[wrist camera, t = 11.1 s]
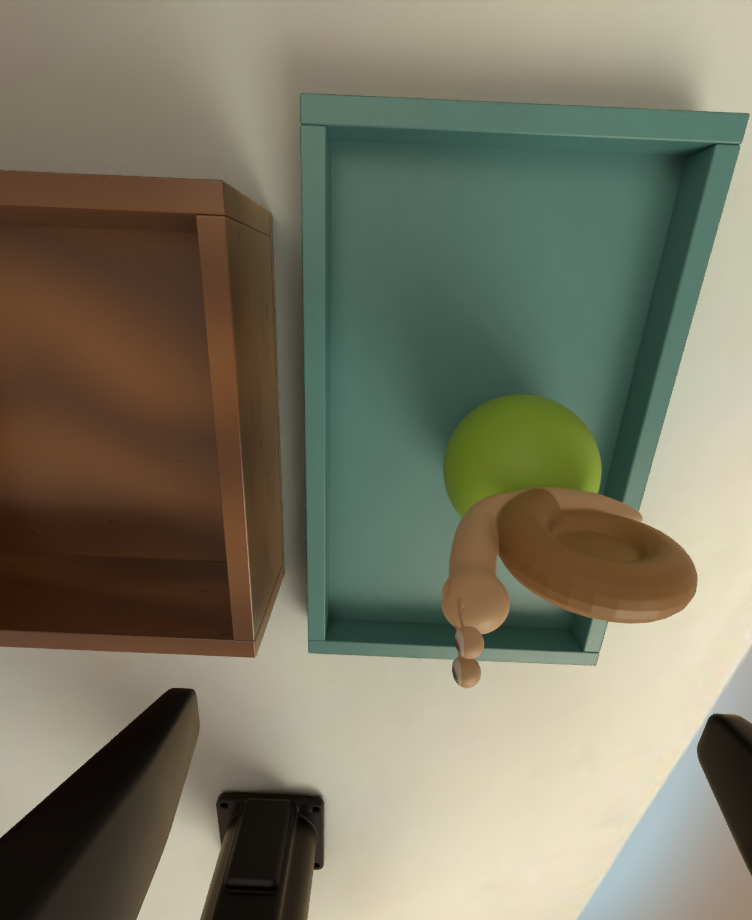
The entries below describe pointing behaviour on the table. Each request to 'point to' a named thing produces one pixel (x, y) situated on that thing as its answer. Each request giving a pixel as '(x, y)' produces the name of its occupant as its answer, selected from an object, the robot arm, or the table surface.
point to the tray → (483, 329)
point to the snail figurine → (546, 528)
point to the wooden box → (137, 416)
